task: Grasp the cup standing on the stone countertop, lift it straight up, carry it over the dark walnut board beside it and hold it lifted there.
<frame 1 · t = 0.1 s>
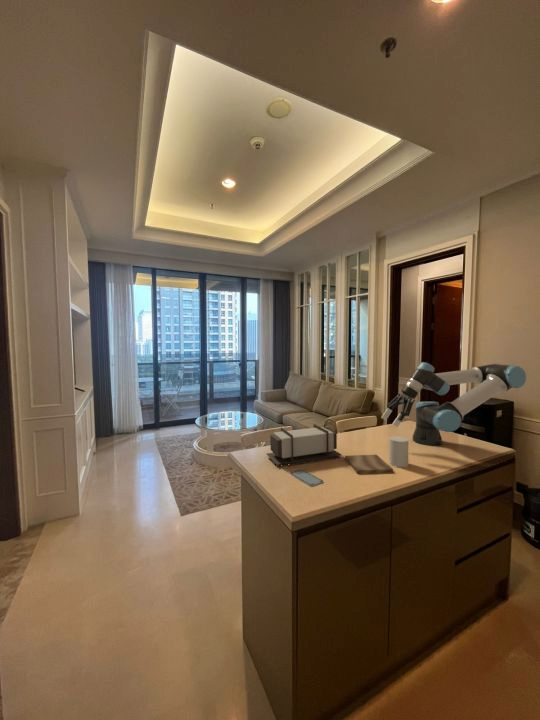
hand: (388, 422, 160), 15 cm above the table, tool tilted 35°, fingers open, 13 cm apart
walnut board: (367, 465, 143), on the table
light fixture: (303, 458, 154), on the table
cup: (398, 464, 143), on the table
smartphone: (306, 479, 130), on the table
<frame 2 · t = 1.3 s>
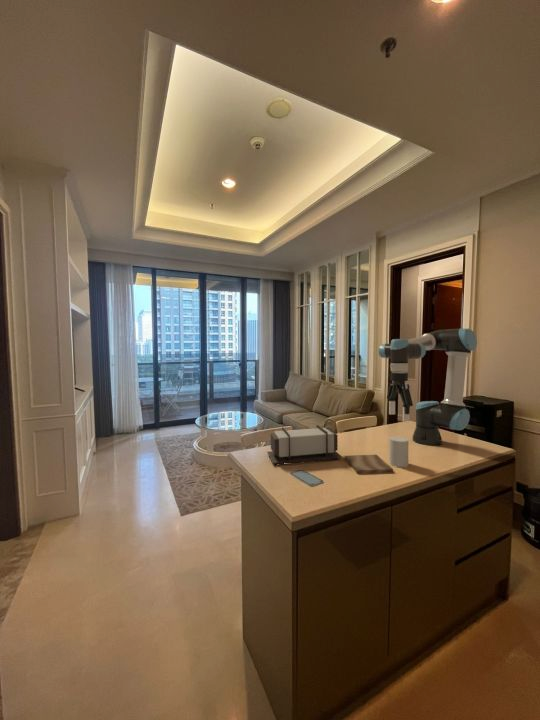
hand: (398, 417, 142), 22 cm above the table, tool pointing down, fingers open, 13 cm apart
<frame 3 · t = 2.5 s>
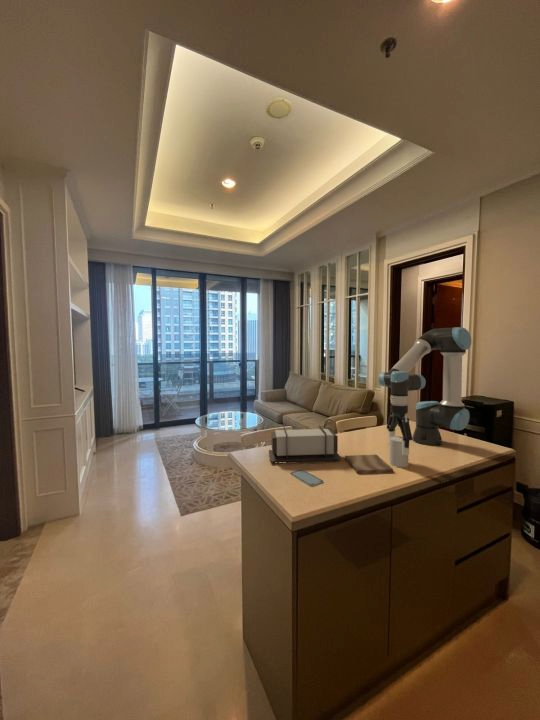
hand: (398, 449, 143), 7 cm above the table, tool pointing down, fingers open, 13 cm apart
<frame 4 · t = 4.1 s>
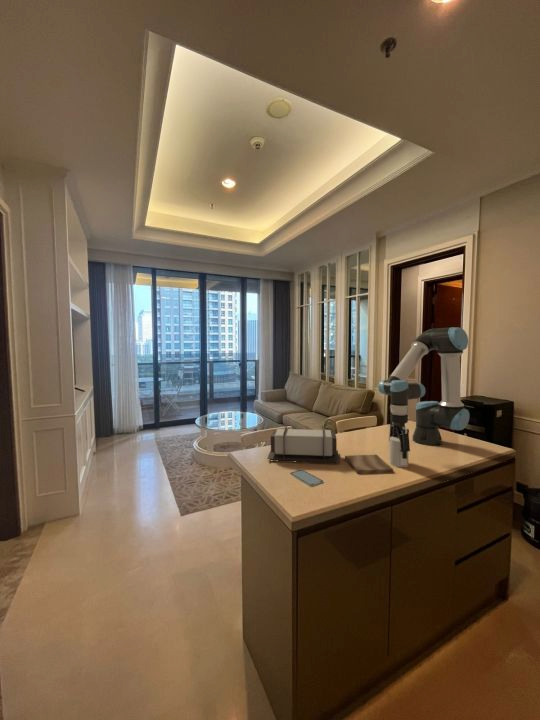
hand: (398, 461, 143), 1 cm above the table, tool pointing down, fingers closed on cup, 8 cm apart
cup: (398, 464, 143), on the table, touching gripper
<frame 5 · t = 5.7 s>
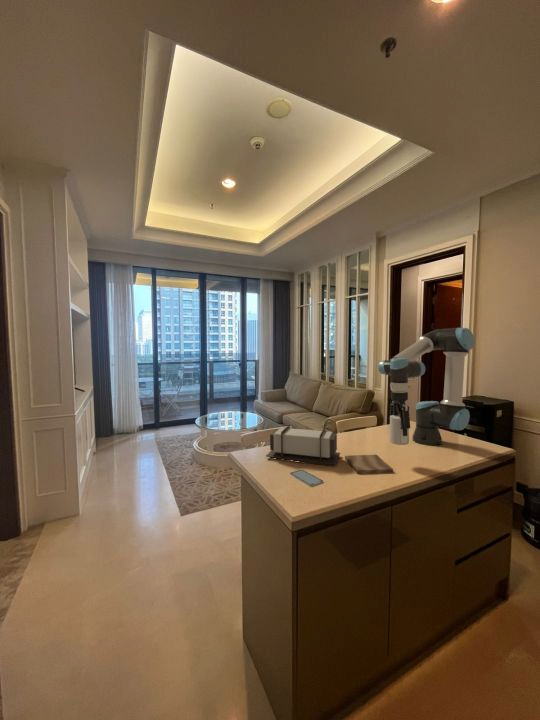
hand: (399, 439, 143), 12 cm above the table, tool pointing down, fingers closed on cup, 8 cm apart
cup: (399, 442, 143), point 10 cm above the table, touching gripper
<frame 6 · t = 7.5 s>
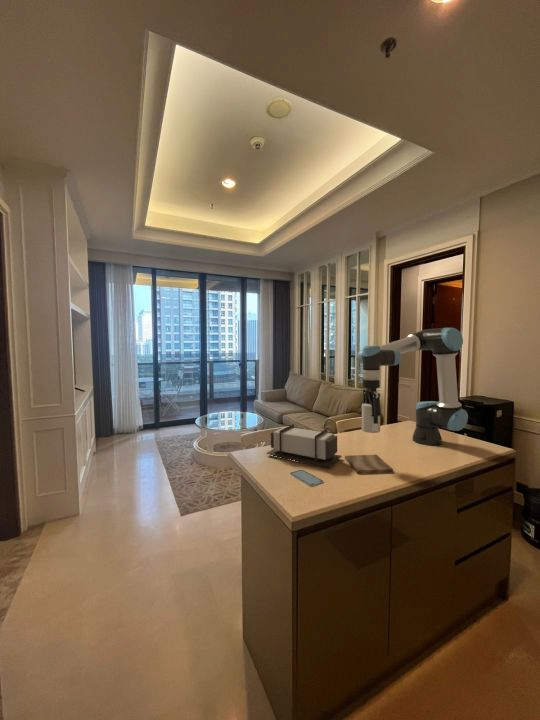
hand: (370, 427, 142), 18 cm above the table, tool pointing down, fingers closed on cup, 8 cm apart
cup: (370, 430, 142), point 16 cm above the table, touching gripper
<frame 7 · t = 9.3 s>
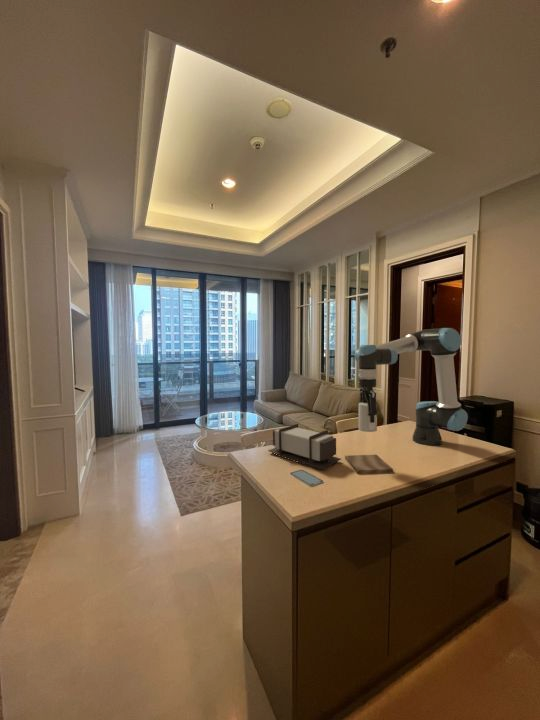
hand: (367, 426, 142), 18 cm above the table, tool pointing down, fingers closed on cup, 8 cm apart
cup: (367, 429, 142), point 17 cm above the table, touching gripper
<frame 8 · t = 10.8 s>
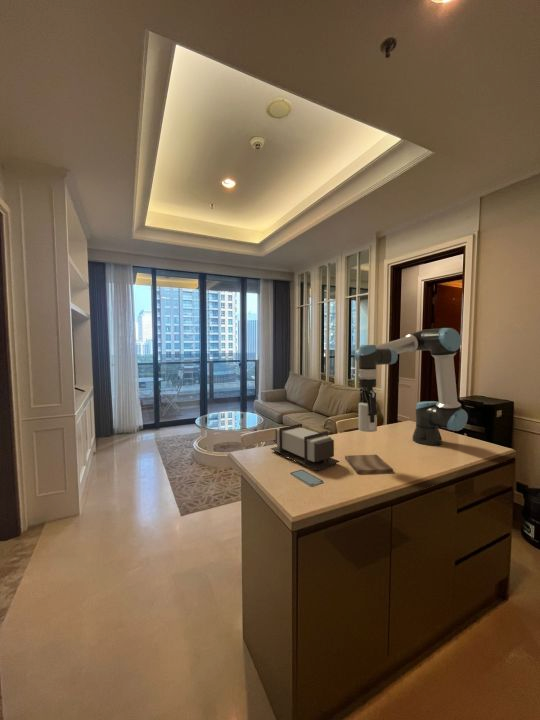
hand: (367, 426, 142), 18 cm above the table, tool pointing down, fingers closed on cup, 8 cm apart
cup: (367, 429, 142), point 17 cm above the table, touching gripper
at the end: the gripper is holding cup; cup point 16.7 cm above the table; cup inside the target area (0.0 cm from its centre), point 16.7 cm above the table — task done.
